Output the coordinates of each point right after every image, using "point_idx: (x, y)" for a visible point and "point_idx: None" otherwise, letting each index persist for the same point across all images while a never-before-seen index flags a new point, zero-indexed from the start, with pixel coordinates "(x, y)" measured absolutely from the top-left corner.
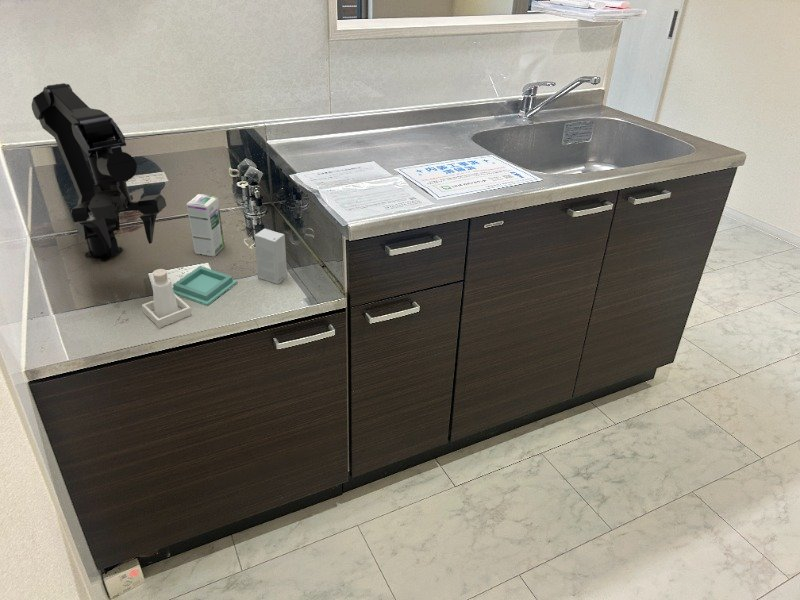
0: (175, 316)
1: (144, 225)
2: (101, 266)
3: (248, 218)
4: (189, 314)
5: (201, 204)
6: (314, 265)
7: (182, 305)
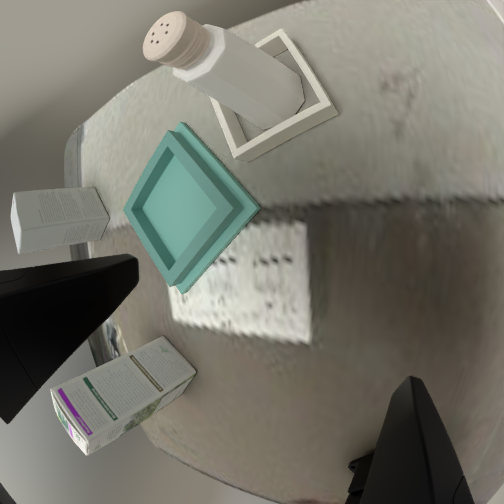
0: None
1: (7, 292)
2: None
3: None
4: None
5: (57, 405)
6: None
7: (224, 105)
